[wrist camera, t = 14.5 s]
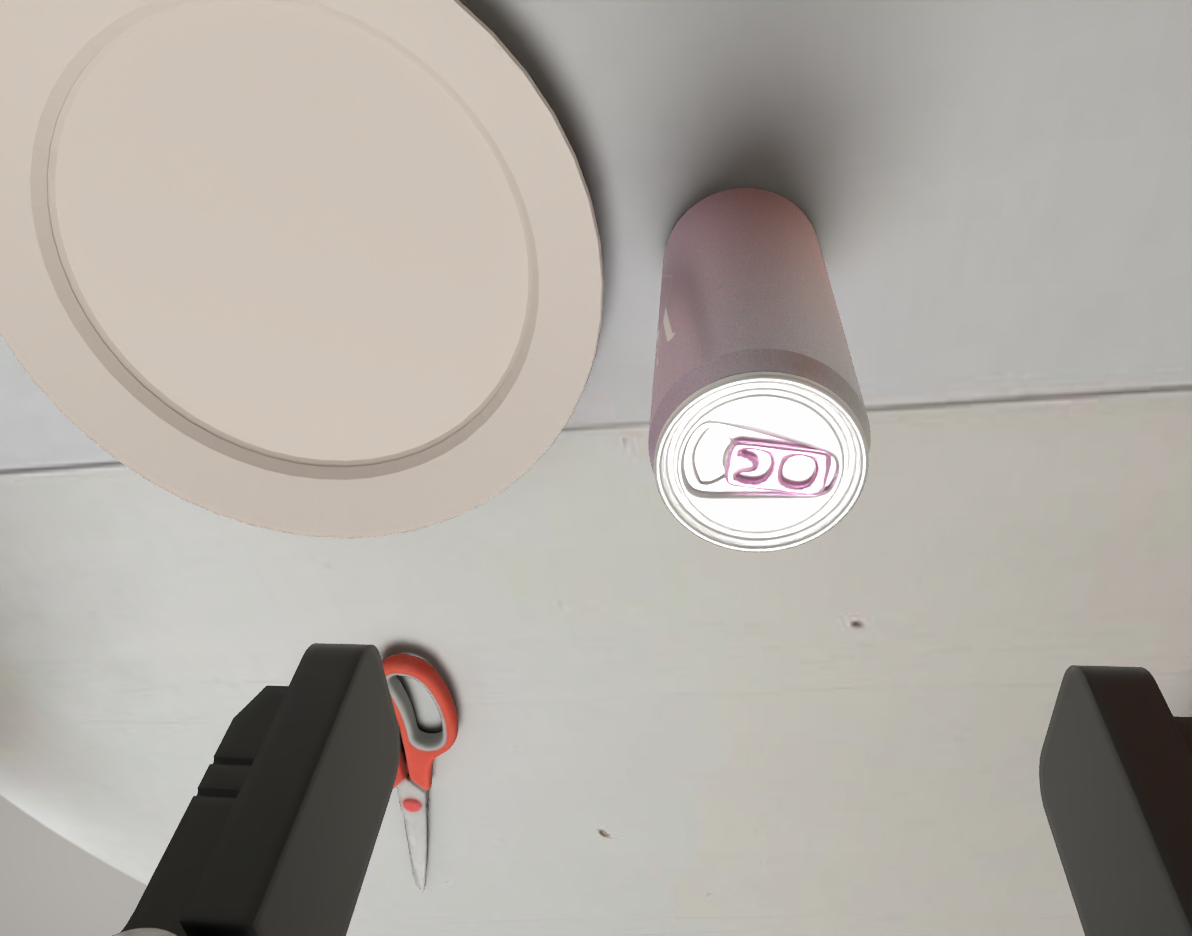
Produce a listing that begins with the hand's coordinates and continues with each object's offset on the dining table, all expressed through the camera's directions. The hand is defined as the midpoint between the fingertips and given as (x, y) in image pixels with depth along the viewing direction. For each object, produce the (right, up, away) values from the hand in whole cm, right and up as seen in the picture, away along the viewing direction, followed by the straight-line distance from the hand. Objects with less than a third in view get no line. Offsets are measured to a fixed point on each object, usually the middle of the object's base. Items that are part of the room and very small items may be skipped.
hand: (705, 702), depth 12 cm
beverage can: (+4, +11, +27) cm, 29 cm away
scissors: (-11, -15, +46) cm, 50 cm away
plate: (-14, +11, +28) cm, 33 cm away
